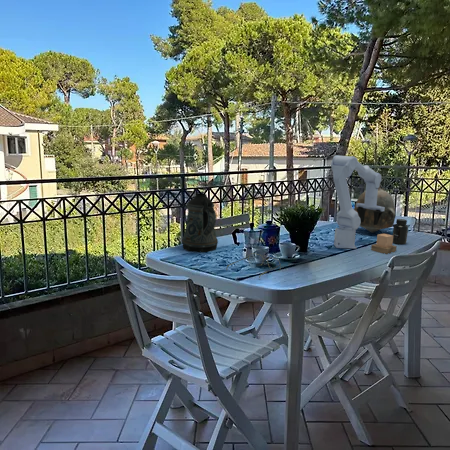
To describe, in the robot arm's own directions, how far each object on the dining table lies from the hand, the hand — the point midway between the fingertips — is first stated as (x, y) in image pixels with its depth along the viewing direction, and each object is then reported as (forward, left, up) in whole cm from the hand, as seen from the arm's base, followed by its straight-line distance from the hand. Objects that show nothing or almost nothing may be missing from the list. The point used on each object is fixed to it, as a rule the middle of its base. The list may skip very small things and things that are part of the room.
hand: (368, 223), depth 213 cm
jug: (+8, +22, -10) cm, 26 cm away
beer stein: (-80, -27, -10) cm, 85 cm away
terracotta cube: (+4, -17, -7) cm, 19 cm away
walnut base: (+4, -17, -10) cm, 20 cm away
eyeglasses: (-55, -56, -10) cm, 79 cm away
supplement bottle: (+16, 0, -10) cm, 19 cm away
